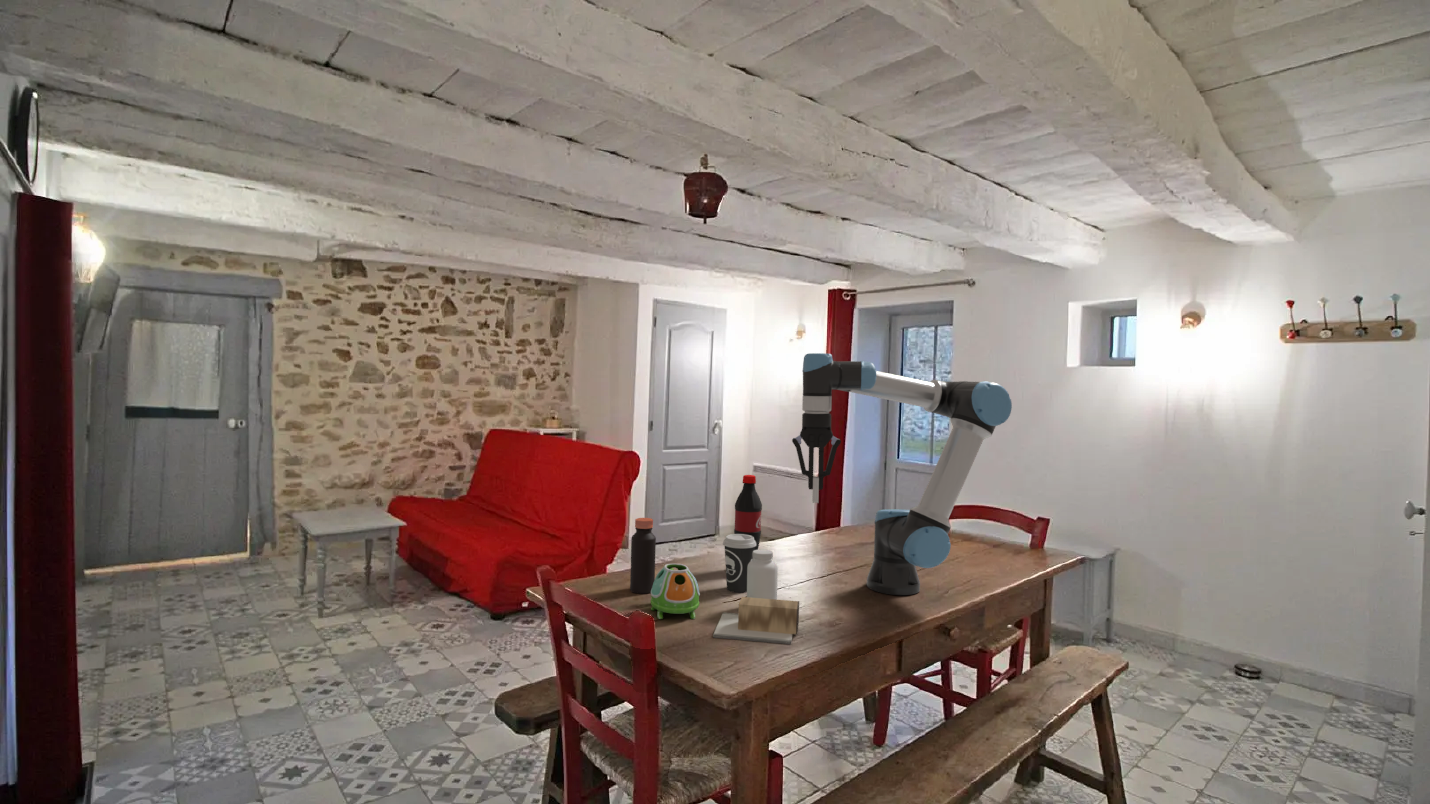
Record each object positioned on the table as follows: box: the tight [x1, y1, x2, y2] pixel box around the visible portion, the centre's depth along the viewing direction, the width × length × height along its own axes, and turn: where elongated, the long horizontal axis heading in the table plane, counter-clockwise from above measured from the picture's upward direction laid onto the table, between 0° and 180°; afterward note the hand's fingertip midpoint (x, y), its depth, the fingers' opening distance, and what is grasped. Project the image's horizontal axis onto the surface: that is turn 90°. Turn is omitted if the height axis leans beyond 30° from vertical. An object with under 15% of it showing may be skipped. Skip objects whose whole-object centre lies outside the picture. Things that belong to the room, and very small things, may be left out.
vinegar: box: [629, 517, 657, 595], centre depth 202 cm, size 7×7×20 cm
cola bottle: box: [733, 474, 763, 550], centre depth 225 cm, size 8×8×30 cm
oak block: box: [737, 596, 800, 635], centre depth 174 cm, size 6×6×14 cm
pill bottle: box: [746, 548, 779, 600], centre depth 190 cm, size 8×8×15 cm
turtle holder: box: [650, 563, 701, 620], centre depth 186 cm, size 12×18×12 cm
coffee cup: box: [722, 533, 756, 594], centre depth 206 cm, size 10×10×15 cm
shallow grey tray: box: [712, 612, 793, 645], centre depth 174 cm, size 18×16×1 cm
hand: (815, 501), depth 191 cm, fingers closed
